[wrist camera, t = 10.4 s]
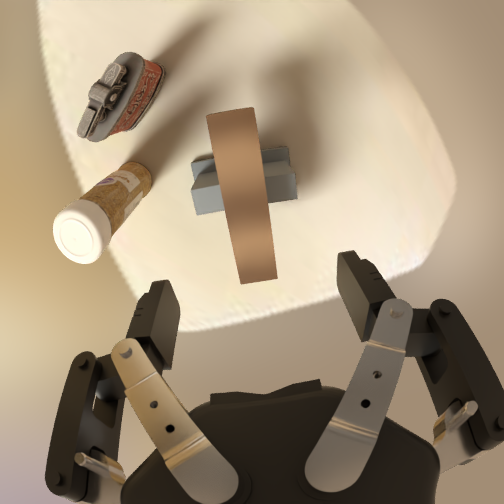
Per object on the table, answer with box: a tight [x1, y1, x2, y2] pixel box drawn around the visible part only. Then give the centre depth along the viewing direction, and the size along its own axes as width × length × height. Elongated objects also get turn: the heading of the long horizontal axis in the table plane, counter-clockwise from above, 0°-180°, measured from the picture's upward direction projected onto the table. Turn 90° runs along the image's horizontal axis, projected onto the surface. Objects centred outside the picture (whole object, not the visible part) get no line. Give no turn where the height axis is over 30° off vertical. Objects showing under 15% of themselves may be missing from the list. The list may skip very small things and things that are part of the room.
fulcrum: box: [191, 146, 298, 215], centre depth 26 cm, size 5×10×6 cm, turn 99°
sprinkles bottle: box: [53, 162, 152, 264], centre depth 22 cm, size 5×5×14 cm
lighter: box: [77, 52, 166, 142], centre depth 18 cm, size 8×3×10 cm, turn 145°
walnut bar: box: [206, 107, 278, 284], centre depth 21 cm, size 14×3×4 cm, turn 8°
